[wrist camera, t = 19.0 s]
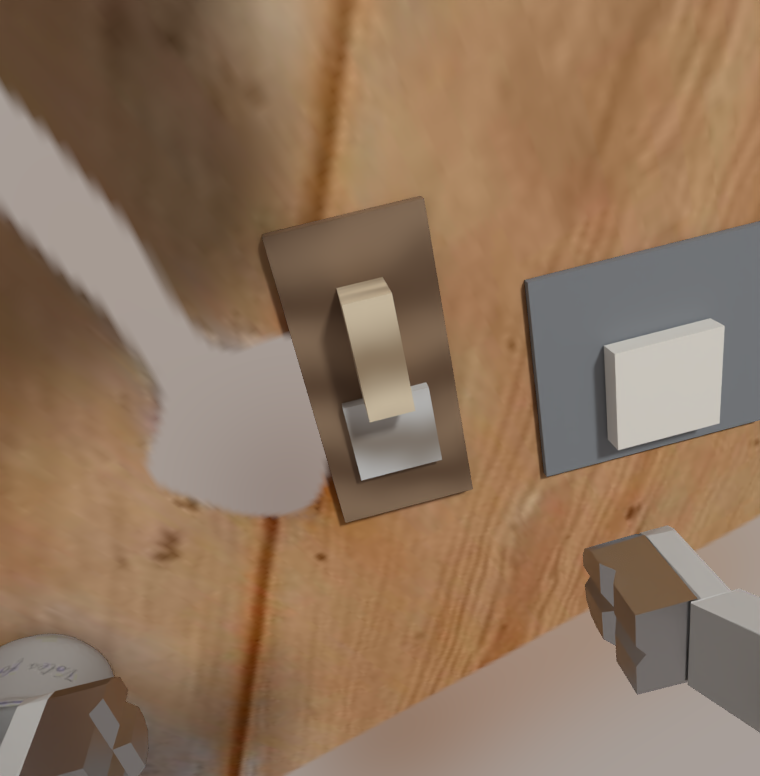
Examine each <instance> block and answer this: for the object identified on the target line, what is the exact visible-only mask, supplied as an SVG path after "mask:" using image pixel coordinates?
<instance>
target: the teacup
mask: <svg viewBox="0 0 760 776" xmlns="http://www.w3.org/2000/svg"><path fill="white" fill-rule="evenodd" d="M111 677H114V675H113V672H112V669H111V667H110V665H109V663H108V662H107V660H106V659H105V658H104V657H103V656H102V654H101V653H100V652H98V651H97V650H96V649H94V648H93V647H91V646H90V645H88V644H86V643H84V642H83V641H81V640H78V639H76V638H73V637H70V636H66V635H61V634H41V635H35V636H30V637H25V638H21V639H18V640H15V641H12V642H9V643H7V644H5V645H3V646H1V647H0V746H1V743H2V741H3V739H4V736H5V734H6V732H7V729H8V727H9V725H10V722H11V720H12V717H13V715H14V713H15V710H16V708H17V707H18V706H19V705H20V704H21V703H22V702H23V701H24V700H25V699H27V698H31V697H35V696H39V695H44V694H48V693H52V692H55V691H57V690H62V689H66V688H70V687H74V686H78V685H82V684H86V683H90V682H94V681H98V680H103V679H107V678H111Z"/></svg>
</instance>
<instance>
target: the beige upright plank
mask: <svg viewBox="0 0 760 776" xmlns="http://www.w3.org/2000/svg"><path fill="white" fill-rule="evenodd" d="M336 289H337V293H338V297H339V301H340V305H341V310H342V314H343V318H344V322H345V326H346V330H347V334H348V339H349V343H350V347H351V351H352V355H353V359H354V363H355V368H356V372H357V376H358V380H359V384H360V388H361V392H362V397H363V398H362V399H358V400H354V401H350V402H346V403H342V408H343V412H344V415H345V419H346V423H347V427H348V431H349V435H350V439H351V442H352V446H353V450H354V454H355V458H356V462H357V465H358V469H359V473H360V477H361V481H362V480H365V479H369V478H373V477H377V476H381V475H385V474H389V473H393V472H397V471H400V470H404V469H408V468H412V467H416V466H420V465H424V464H428V463H431V462H435V461H439V460H442V456H441V451H440V446H439V440H438V435H437V429H436V424H435V418H434V413H433V408H432V402H431V397H430V391H429V387H428V385H427V383H422V384H418V385H414V386H410V381H409V376H408V371H407V366H406V361H405V356H404V351H403V346H402V341H401V336H400V331H399V326H398V321H397V316H396V311H395V306H394V301H393V296H392V292H391V291H390V289H389V287H388V285H387V284H386V282H385V280H384V279H383V277H381V278H376V279H372V280H368V281H364V282H360V283H356V284H352V285H348V286H343V287H339V288H336Z"/></svg>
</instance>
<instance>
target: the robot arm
mask: <svg viewBox="0 0 760 776" xmlns="http://www.w3.org/2000/svg"><path fill="white" fill-rule="evenodd" d="M583 566H584V568H585V569H586V571H587V572H588V574H589V575H590V578H589V579H588V581H587V582H586V584H585V591H586V600H587V603H588V607H589V610H590V613H591V616H592V618H593V620H594V623H595V625H596V627H597V628H598V630H599V632H600V634H601V636H602V637H603V639H604V640H606V641H608V642H610V643H612V644H613V645H615V646H616V658H617V659H616V660H617V662H618V664H619V666H620V667H621V669H622V671H623V672H624V674H625V675H626V677H627V679H628V680H629V682H630V684H631V685H632V687H633V688H634V690H635V692H636V693H637V694H642V693H646V692H649V691H654V690H657V689H661V688H665V687H669V686H673V685H677V684H681V683H685V682H688V685H689V686H690V687H692V688H693V689H695V690H696V691H698V692H699V693H701V694H702V695H704V696H706V697H707V698H709V699H710V700H711V701H713V702H715V703H716V704H717V705H719V706H721V707H722V708H724V709H725V710H727V711H728V712H730V713H731V714H733V715H734V716H736V717H737V718H739V719H740V720H742V721H743V722H745V723H746V724H748V725H749V726H751V727H752V728H754V729H755V730H757V731H758V732H760V597H759V596H757V595H754V594H752V593H750V592H747V591H745V590H742V589H736V590H732V591H731V590H730V589H729V588H728V587H727V585H726V584H725V583H724V582H723V581H722V580H721V579H720V578H719V577H718V576H717V575H716V574H715V573H714V572H713V570H712V569H711V568H710V567H709V566H708V565H707V564H706V563H705V562H704V561H703V560H702V559H701V557H700V556H699V555H698V554H697V553H696V552H695V551H694V550H693V549H692V548H691V547H690V546H689V545H688V543H687V542H686V541H685V540H684V539H683V538H682V537H681V536H680V535H679V534H678V533H677V532H676V531H675V529H674V528H672V527H670V526H663V527H660V528H656V529H653V530H649V531H646V532H642V533H640V534H635V535H631V536H628V537H624V538H621V539H617V540H614V541H610V542H606V543H603V544H599V545H596V546H592V547H589V548H585V549H584V553H583ZM127 693H128V689H127V687H126V686H125V684H124V683H123V681H122V680H121V678H120V677H111V678H107V679H103V680H98V681H94V682H90V683H86V684H82V685H78V686H74V687H70V688H66V689H62V690H57V691H55V692H52V693H48V694H44V695H39V696H35V697H31V698H27V699H25V700H24V701H23V702H22V703H21V704H20V705H19V706H18V707H17V708H16V710H15V713H14V715H13V717H12V720H11V722H10V725H9V727H8V729H7V732H6V734H5V736H4V739H3V741H2V743H1V746H0V776H139V774H140V773H141V772H142V770H143V769H144V768H145V766H146V760H147V754H148V729H147V726H146V722H145V719H144V716H143V714H142V713H141V711H140V709H139V707H137V706H135V705H133V704H130V703H128V702H126V697H127Z"/></svg>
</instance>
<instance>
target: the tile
mask: <svg viewBox="0 0 760 776" xmlns="http://www.w3.org/2000/svg"><path fill="white" fill-rule="evenodd" d="M724 330H725V326H724V325H722V324H720V323H719V322H717V321H715V320H713V319H711V318H709V319H705V320H701V321H697V322H694V323H690V324H686V325H682V326H678V327H674V328H670V329H666V330H662V331H659V332H655V333H651V334H647V335H643V336H639V337H635V338H631V339H627V340H624V341H620V342H616V343H612V344H608V345H604V362H605V385H606V408H607V431H608V440H609V441H610V442H611V443H612V444H613V445H614V446H615V448H616V449H617V450H621V449H625V448H629V447H633V446H636V445H640V444H644V443H648V442H651V441H655V440H659V439H663V438H666V437H670V436H674V435H678V434H681V433H685V432H689V431H693V430H697V429H700V428H704V427H708V426H712V425H715V424H719V423H720V405H721V386H722V368H723V349H724Z"/></svg>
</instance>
